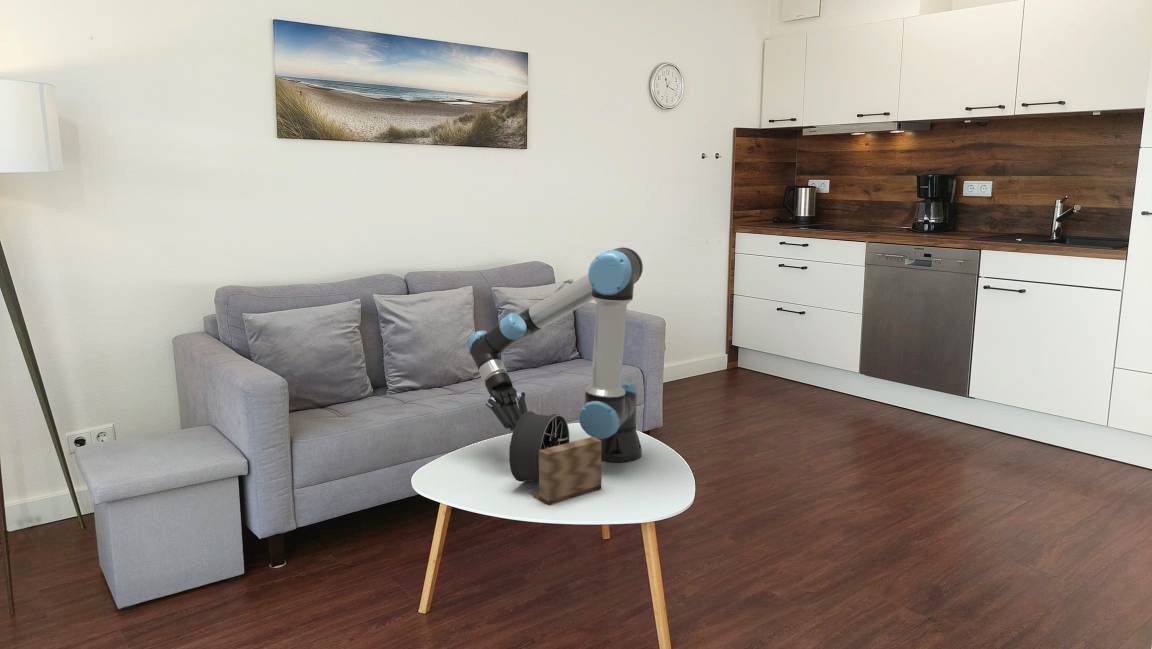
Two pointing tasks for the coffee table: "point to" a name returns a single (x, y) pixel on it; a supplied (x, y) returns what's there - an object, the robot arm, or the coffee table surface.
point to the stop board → (569, 470)
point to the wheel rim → (534, 442)
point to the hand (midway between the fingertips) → (527, 446)
